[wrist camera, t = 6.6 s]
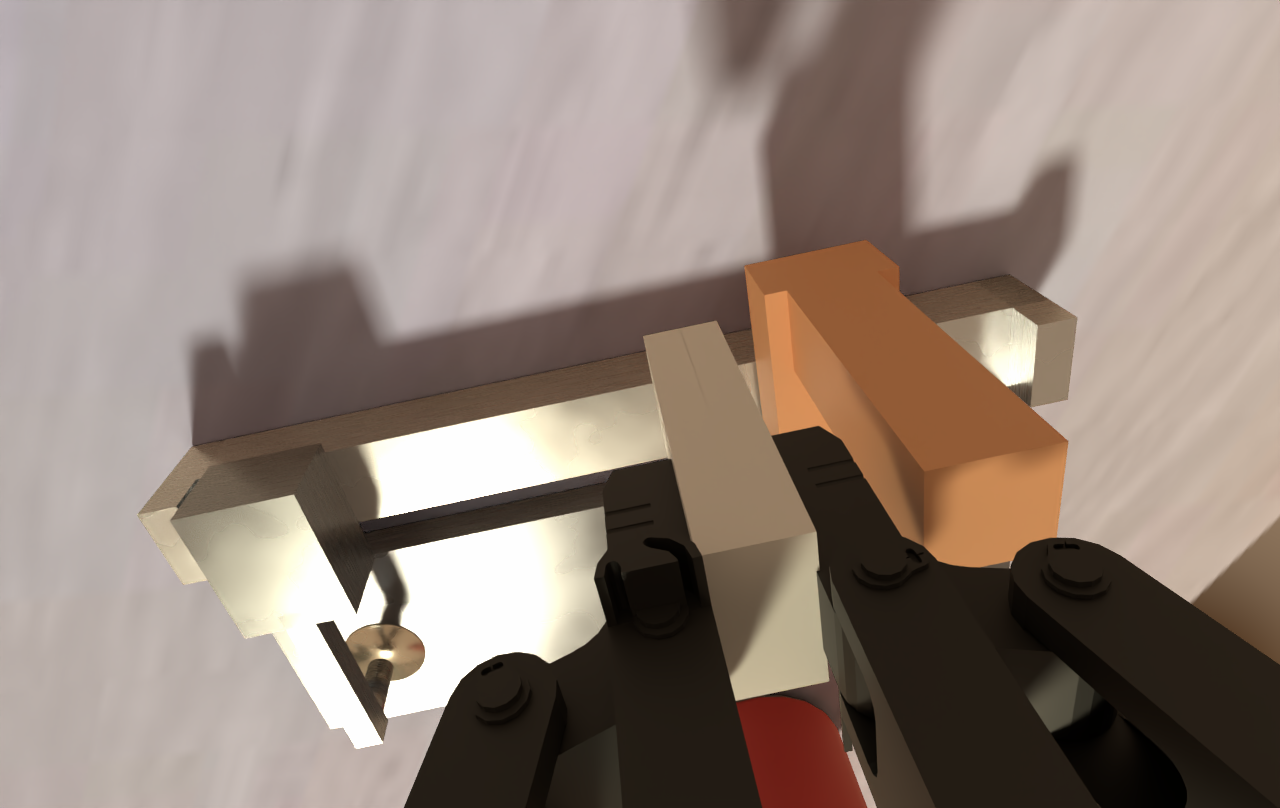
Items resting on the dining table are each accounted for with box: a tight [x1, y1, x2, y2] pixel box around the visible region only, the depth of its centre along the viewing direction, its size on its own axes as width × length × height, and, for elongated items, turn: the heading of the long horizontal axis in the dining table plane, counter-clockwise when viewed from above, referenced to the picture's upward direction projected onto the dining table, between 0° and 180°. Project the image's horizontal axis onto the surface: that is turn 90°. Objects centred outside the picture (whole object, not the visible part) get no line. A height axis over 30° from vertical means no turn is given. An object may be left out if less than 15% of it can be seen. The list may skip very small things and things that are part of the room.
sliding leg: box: [744, 240, 1068, 567], centre depth 17 cm, size 3×12×10 cm, turn 10°
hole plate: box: [272, 482, 1010, 729], centre depth 25 cm, size 24×7×1 cm, turn 100°
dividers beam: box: [137, 274, 1077, 749], centre depth 22 cm, size 24×9×4 cm, turn 101°
